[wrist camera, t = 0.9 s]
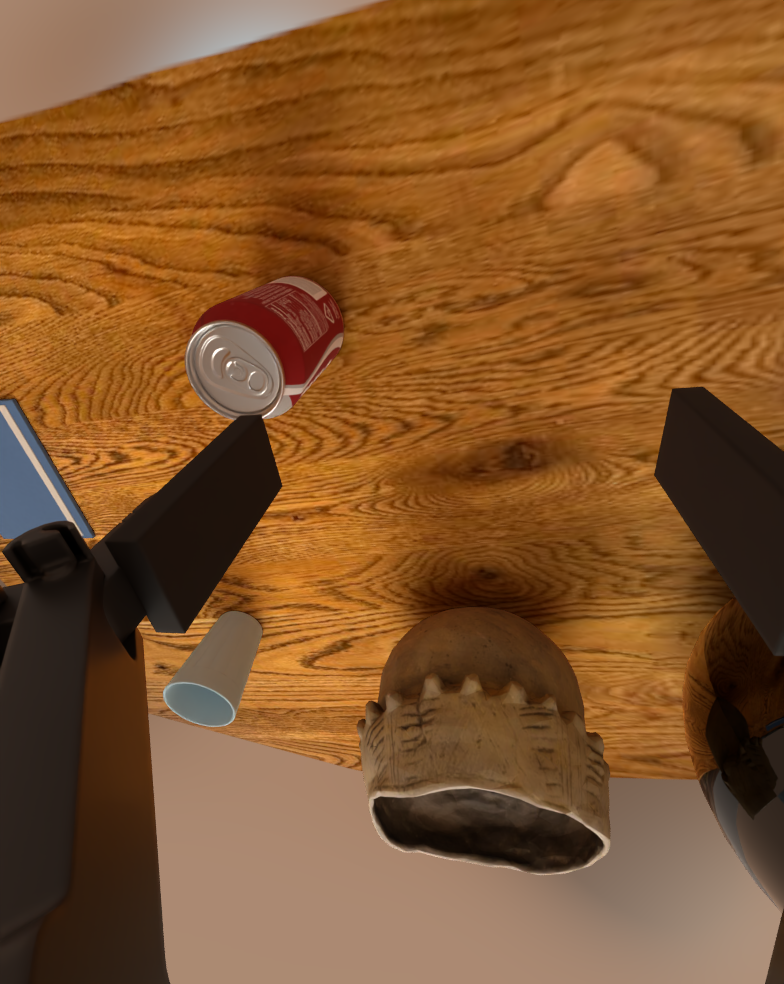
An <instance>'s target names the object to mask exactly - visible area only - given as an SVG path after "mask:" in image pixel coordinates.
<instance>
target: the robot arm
mask: <svg viewBox="0 0 784 984" xmlns="http://www.w3.org/2000/svg"><path fill="white" fill-rule="evenodd" d="M654 475H655V477H656V479H657V480H658V482H659V483H660V485H661V486H662V488H663V489H664V491H665V492H666V494H667V495H668V497H669V498H670V500H671V501H672V503H673V504H674V506H675V507H676V509H677V510H678V512H679V513H680V515H681V516H682V518H683V519H684V521H685V522H686V524H687V525H688V527H689V528H690V530H691V531H692V533H693V534H694V536H695V537H696V539H697V540H698V542H699V543H700V545H701V546H702V548H703V549H704V551H705V552H706V554H707V555H708V557H709V558H710V560H711V561H712V563H713V564H714V566H715V567H716V569H717V570H718V572H719V573H720V575H721V576H722V578H723V579H724V581H725V582H726V584H727V586H728V587H729V589H730V590H731V592H732V593H733V595H734V596H735V598H736V599H737V601H738V602H739V604H740V605H741V607H742V608H743V610H744V611H745V613H746V614H747V616H748V617H749V619H750V620H751V622H752V623H753V625H754V626H755V628H756V629H757V631H758V632H759V634H760V635H761V637H762V638H763V640H764V641H765V643H766V644H767V646H768V647H769V649H770V650H771V652H772V653H773V655H774V656H784V452H783V451H782V450H781V449H780V448H778V447H777V446H776V445H775V444H773V443H772V442H771V441H770V440H768V439H767V438H766V437H765V436H763V435H762V434H761V433H760V432H759V431H757V430H756V429H755V428H754V427H752V426H751V425H750V424H749V423H747V422H746V421H745V420H744V419H742V418H741V417H740V416H739V415H737V414H736V413H735V412H734V411H732V410H731V409H730V408H729V407H728V406H726V405H725V404H724V403H723V402H721V401H720V400H719V399H718V398H716V397H715V396H714V395H713V394H711V393H710V392H709V391H708V390H706V389H705V388H704V387H692V388H676V389H672V392H671V397H670V402H669V407H668V412H667V416H666V421H665V426H664V431H663V436H662V440H661V445H660V450H659V455H658V460H657V464H656V469H655V474H654ZM281 488H282V483H281V479H280V476H279V472H278V469H277V466H276V462H275V459H274V455H273V452H272V448H271V445H270V442H269V438H268V435H267V431H266V428H265V424H264V421H263V418H262V414H257V415H240V416H239V417H238V418H237V419H236V420H235V421H234V422H232V423H231V424H230V425H229V426H228V427H227V428H226V429H225V430H224V431H223V432H222V433H221V434H220V435H218V436H217V437H216V438H215V439H214V440H213V441H212V442H211V443H210V444H209V445H208V446H207V447H206V448H205V449H203V450H202V451H201V452H200V453H199V454H198V455H197V456H196V457H195V458H194V459H193V460H192V461H191V462H189V463H188V464H187V465H186V466H185V467H184V468H183V469H182V470H181V471H180V472H179V473H178V474H177V475H175V476H174V477H173V478H172V479H171V480H170V481H169V482H168V483H167V484H166V485H165V486H164V487H163V488H162V489H160V490H159V491H158V492H157V493H155V494H154V495H152V496H150V497H149V498H147V499H145V500H144V501H143V502H142V503H141V504H140V505H139V506H137V507H136V508H135V509H134V510H133V513H130V514H129V515H128V516H127V517H125V518H124V519H123V520H122V523H119V524H118V525H117V526H116V527H115V528H113V529H112V530H111V531H110V532H109V533H108V534H107V535H106V536H105V537H104V538H103V539H101V540H100V541H99V542H98V543H97V544H96V545H95V546H94V547H93V548H92V549H91V550H90V549H89V547H88V546H87V544H86V542H85V541H84V539H83V537H82V536H81V534H80V532H79V531H78V529H77V527H76V526H75V524H74V523H73V522H69V521H56V522H52V523H47V524H43V525H41V526H38V527H36V528H33V529H31V530H29V531H27V532H25V533H23V534H22V535H20V536H18V537H16V538H15V539H14V540H13V541H11V542H10V543H9V544H7V546H6V547H5V548H4V550H3V551H2V553H3V554H4V555H5V557H6V558H7V560H8V561H9V562H10V564H11V565H12V566H13V568H14V569H15V570H16V572H17V573H18V574H19V576H20V577H21V579H22V580H23V581H24V583H22V584H17V585H12V586H8V587H3V588H2V587H1V586H0V984H170V982H169V978H168V973H167V969H166V961H165V951H164V936H163V922H162V907H161V893H160V878H159V864H158V849H157V835H156V820H155V806H154V793H153V778H152V764H151V748H150V734H149V720H148V705H147V691H146V676H145V662H144V648H143V638H142V636H141V633H140V632H139V630H138V628H137V626H138V624H139V623H140V622H141V621H142V619H143V618H144V617H145V616H146V615H147V617H148V619H149V620H150V622H151V624H152V626H153V627H154V629H155V631H156V632H161V633H186V631H187V630H188V628H189V627H190V625H191V624H192V622H193V621H194V619H195V618H196V616H197V615H198V613H199V612H200V610H201V608H202V607H203V605H204V604H205V602H206V601H207V599H208V598H209V596H210V595H211V593H212V592H213V590H214V589H215V587H216V586H217V584H218V583H219V581H220V580H221V578H222V577H223V575H224V574H225V572H226V571H227V569H228V568H229V566H230V565H231V563H232V562H233V560H234V559H235V557H236V556H237V554H238V553H239V551H240V550H241V548H242V546H243V545H244V543H245V542H246V540H247V539H248V537H249V536H250V534H251V533H252V531H253V530H254V528H255V527H256V525H257V524H258V522H259V521H260V519H261V518H262V516H263V515H264V513H265V512H266V510H267V509H268V507H269V506H270V504H271V503H272V501H273V500H274V498H275V497H276V495H277V494H278V492H279V491H280V489H281ZM765 984H784V909H783V913H782V917H781V921H780V925H779V929H778V933H777V937H776V941H775V946H774V950H773V954H772V958H771V962H770V967H769V970H768V975H767V979H766V982H765Z"/></svg>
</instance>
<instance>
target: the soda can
mask: <svg viewBox="0 0 784 984" xmlns="http://www.w3.org/2000/svg"><path fill="white" fill-rule="evenodd" d="M343 337H344V323H343V318H342V314H341V311H340V309H339V307H338V305H337V303H336V301H335V300H334V298H333V297H332V296H331V294H330V293H329V292H328V291H327V290H326V289H325V288H324V287H322V286H321V285H320V284H318V283H316V282H315V281H313V280H310V279H308V278H305V277H300V276H287V277H283V278H279V279H277V280H275V281H272V282H270V283H267V284H265V285H263V286H260V287H258V288H255V289H253V290H251V291H248V292H246V293H243V294H241V295H239V296H236V297H234V298H231V299H229V300H226V301H224V302H222V303H219V304H217V305H215V306H213V307H211V308H210V309H208V310H207V311H206V312H205V313H204V314H203V315H202V316H201V317H200V319H199V320H198V321H197V323H196V325H195V327H194V330H193V333H192V336H191V338H190V340H189V342H188V344H187V347H186V352H185V367H186V372H187V376H188V378H189V381H190V383H191V385H192V387H193V389H194V390H195V392H196V393H197V395H198V396H199V397H200V399H201V400H202V401H203V402H204V403H205V404H206V405H207V406H208V407H210V408H211V409H212V410H214V411H215V412H217V413H218V414H220V415H222V416H224V417H226V418H229V419H232V420H236V419H237V418H238V417H239V416H240V415H257V414H262V418H263V419H269V418H273V417H276V416H279V415H281V414H283V413H285V412H286V411H288V410H289V409H290V408H291V407H292V406H293V405H294V404H295V403H296V402H297V401H298V400H299V399H300V397H301V396H302V395H303V394H304V393H305V392H306V390H307V389H308V388H309V387H310V386H311V385H312V383H313V382H314V381H315V380H316V379H317V378H318V376H319V375H320V374H321V373H322V372H323V371H324V369H325V368H326V367H327V366H328V365H329V364H330V362H331V361H332V360H333V359H334V358H335V357H336V355H337V354H338V352H339V350H340V348H341V345H342V342H343Z"/></svg>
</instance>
